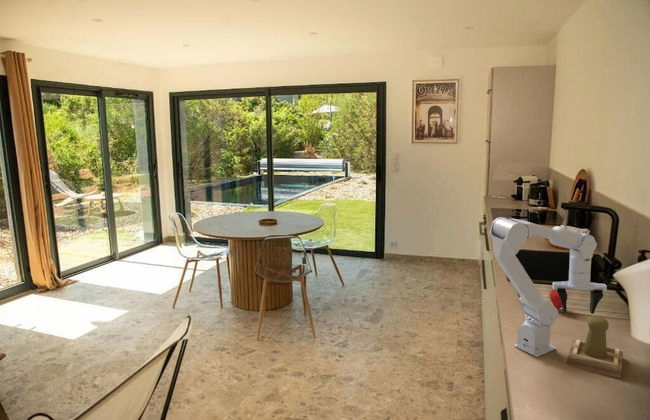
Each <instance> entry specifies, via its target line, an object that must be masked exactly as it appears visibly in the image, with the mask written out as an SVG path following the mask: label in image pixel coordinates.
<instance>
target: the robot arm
mask: <svg viewBox="0 0 650 420" xmlns="http://www.w3.org/2000/svg"><path fill="white" fill-rule="evenodd" d="M488 234H489V236H490V237H491V240H492V241H491V242H492V250H493V253H492V254H493V256H494V258H495V261H497V263H498V265H499V266H500V267H501V269H502V271H503V272H504V274H505V275H506V277H507V278H508V280H509V281H510V283H511V285H512V286H513V287H514V289H515V290H516V291H517V294H518V295H519V299H518V300H519V302H520V304H521V306H520V308H521V310H522V312H523V313H524V317H525V319H524V322H523V323H522V324H521V325H519V326H518V330H517V341H516V343H515V344H514V347H515V348H517V349H519V350H522V351H523V352H526V353H528V354H530V355H532V356H534V357H536V358H538V357H540V356H542V355H545V354H547V353H550V352H552V351H555V350H556V349H557V348H556V346H553V345H552V344H551V336H552V335H551V334H552V326H553V325H554V324H555V323H556V321H557V319H558V318H559V310H557V308H556V307H555V306H554V305H553V304H551V303H550V302H549V300H548V299H546V297H544V296H543V295H542V294H541V293H540V292H539V290H538V288H537V287H536V285H535V284H534V282H533V281H532V279H531V278H530V276H529V275H528V273H527V271H526V270H525V267H524V266H523V264H522V263H521V262H520V260H519V258H518V257H517V256H516V255H517V254H518V253H519V251H520V250H521V248H522V247H523V246H524V244H525V242H526V241H527V240H530V239H531V237H532V236H534V237H539V238H544V239H548V241H549V243H551V244H552V245H554V246H558V247H561V248H565V249H569V264H568V265H569V269H568V280H566V281H553V282H552V288H553V289H554V290H557V292H558V294H559V297H560V300H561V303H562V307H561V309H562V311H563V313H567V302H568V301H567V300H568V293H567V290H568V291H569V290H571V291H590V293H589V294H590V301H589V312H590V314H593V315H594V314H595V311H596V308H597V306H598V304H599V302H600V301H601V300H602V299H603V298H604V293H607V292H608V291H607V290H608V288H607V287H608V286H607V285H606V284H605V283H597V282H592V281H591V272H592V271H591V269H592V267H591V266H592V258H593V257H594V252H595V250H596V249H597V245H598V242H596V239H595V237H594V236H593V235H591V234H588V233H585V232H581V230H579V229H570V228H568V226H567V225H563V224H561V225H560V226H558V225H556V226H554V227H552V228H550V227H547V226H543V225H541V224H536V223H533V222H530V221H527V220H524V219H518V218H517V219H516V218H511V217H510V218H507V217H504V216H499V217H497V218H495V219H494V220H493V221H492V223H491V226H490V228H489V233H488ZM553 289H552V290H553Z"/></svg>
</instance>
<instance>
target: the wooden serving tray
mask: <svg viewBox="0 0 650 420" xmlns="http://www.w3.org/2000/svg"><path fill="white" fill-rule="evenodd" d="M585 342H586V340H581V339H576V340H574V339H573V340H572V343H571V346H570V348H569V352H568V355H567V360H566V365H567V366H571V367H574V368H579V369H583V370H586V371H590V372H594V373H598V374H602V375H607V376H609V377H613V376H614V377H613V378H617V377H618V379H620V378H621V377H622V371H623V370H622V369H623V360H624V359H623V358H624V351H621V350H620V349H619V348H616V347H612V346H608V345H607V357H606V358H604V359H598V358H593V357H590V356H588V355H586V354H585V353H584V352H583V350H584V346H585Z"/></svg>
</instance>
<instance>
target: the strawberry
mask: <svg viewBox="0 0 650 420" xmlns="http://www.w3.org/2000/svg"><path fill="white" fill-rule="evenodd" d="M549 289H550V291H549V294H548V295H549V300H550V302H551V303H552V306H554V307H556V308H557V310H558V311H559V310H561V309H562V303H561V300H560V297H559V294H558V292H557V290H554V289H553V287H550V288H549Z"/></svg>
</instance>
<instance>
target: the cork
mask: <svg viewBox="0 0 650 420" xmlns="http://www.w3.org/2000/svg"><path fill="white" fill-rule="evenodd" d="M587 327H588V332H587V336H586V340H585V341H586V342H585V346H584V350H583V352H584V353H585V354H586V355H588V356H590V357H593V358H598V359H604V358H606V357H607V346H608V345H607V331H608V329H609V322H608V320H607V319H605V318H604V317H601V316H590V317H589V318H588V319H587Z"/></svg>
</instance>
